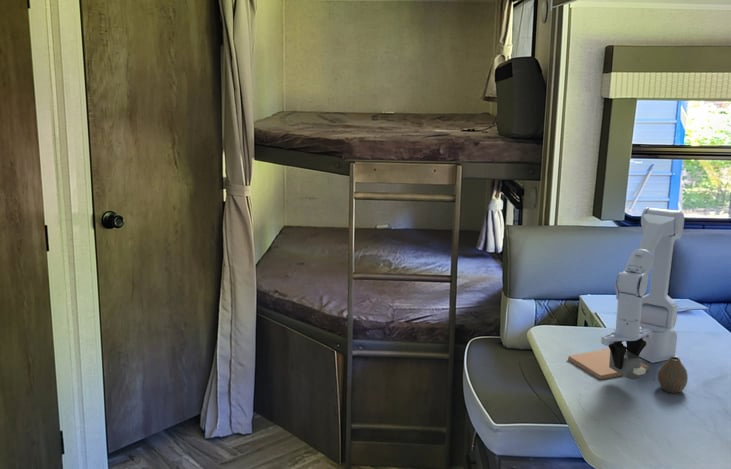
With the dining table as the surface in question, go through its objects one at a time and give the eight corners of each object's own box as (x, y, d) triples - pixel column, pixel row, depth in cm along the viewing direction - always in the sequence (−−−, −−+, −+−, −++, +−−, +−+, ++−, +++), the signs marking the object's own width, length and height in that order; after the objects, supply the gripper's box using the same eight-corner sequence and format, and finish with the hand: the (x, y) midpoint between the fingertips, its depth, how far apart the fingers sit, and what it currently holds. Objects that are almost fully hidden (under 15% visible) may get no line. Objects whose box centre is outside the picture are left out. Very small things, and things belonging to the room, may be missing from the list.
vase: (674, 398, 166) (677, 365, 164) (651, 387, 172) (654, 356, 170) (692, 392, 169) (695, 360, 167) (669, 381, 175) (672, 350, 173)
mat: (613, 351, 194) (613, 347, 194) (648, 370, 181) (648, 366, 181) (568, 359, 189) (568, 355, 189) (600, 379, 176) (601, 375, 176)
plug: (617, 363, 177) (618, 346, 176) (646, 380, 167) (648, 361, 166) (606, 365, 176) (607, 348, 174) (635, 382, 166) (636, 364, 164)
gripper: (639, 308, 174) (635, 356, 177) (594, 316, 170) (591, 364, 173) (659, 317, 168) (655, 366, 171) (613, 325, 163) (609, 375, 166)
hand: (624, 366), depth 171 cm, fingers closed on plug, 4 cm apart
